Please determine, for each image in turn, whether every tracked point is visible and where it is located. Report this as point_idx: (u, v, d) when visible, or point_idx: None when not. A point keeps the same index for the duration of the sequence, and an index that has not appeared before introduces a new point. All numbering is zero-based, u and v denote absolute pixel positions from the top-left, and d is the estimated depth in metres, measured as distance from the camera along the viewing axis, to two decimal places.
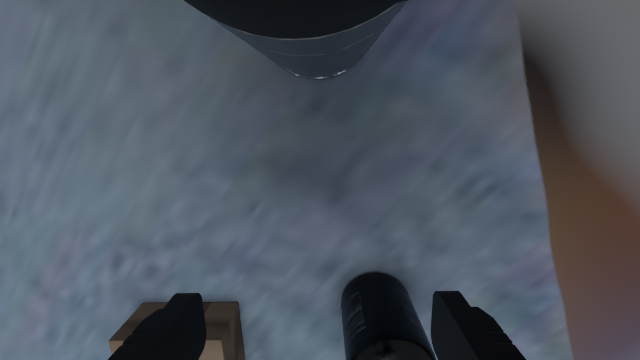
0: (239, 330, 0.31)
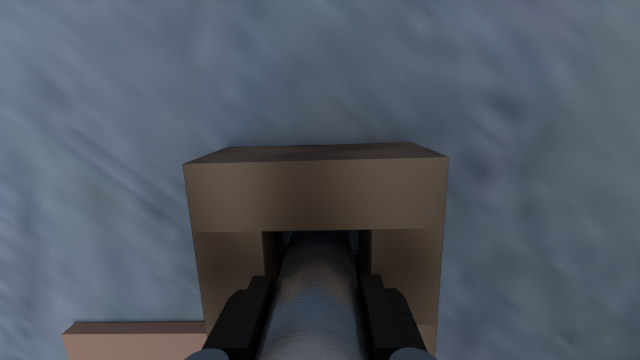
0: None
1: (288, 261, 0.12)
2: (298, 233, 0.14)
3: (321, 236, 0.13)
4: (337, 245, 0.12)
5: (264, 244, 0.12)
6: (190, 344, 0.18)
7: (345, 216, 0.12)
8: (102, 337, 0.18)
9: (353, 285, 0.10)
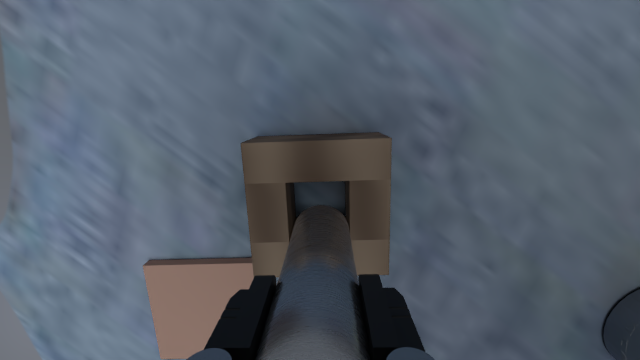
0: None
1: (289, 261, 0.12)
2: (299, 233, 0.14)
3: (321, 236, 0.13)
4: (337, 245, 0.12)
5: (286, 191, 0.21)
6: (231, 271, 0.26)
7: (334, 173, 0.20)
8: (170, 267, 0.26)
9: (354, 285, 0.10)
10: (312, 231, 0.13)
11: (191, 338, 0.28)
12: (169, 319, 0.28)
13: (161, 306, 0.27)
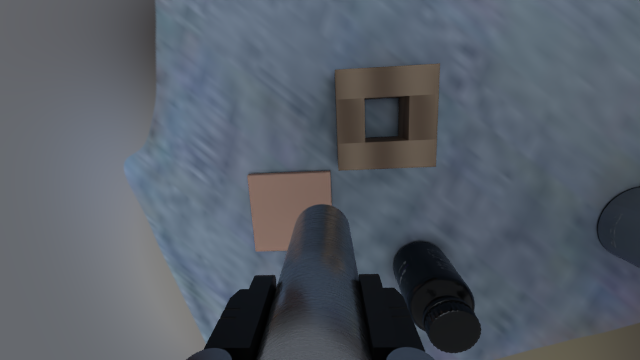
0: None
1: (289, 260, 0.11)
2: (299, 232, 0.14)
3: (322, 235, 0.13)
4: (338, 244, 0.12)
5: None
6: (312, 179, 0.36)
7: (399, 90, 0.29)
8: (267, 177, 0.36)
9: (355, 284, 0.10)
10: (313, 230, 0.13)
11: (279, 234, 0.37)
12: (264, 218, 0.37)
13: (258, 208, 0.37)
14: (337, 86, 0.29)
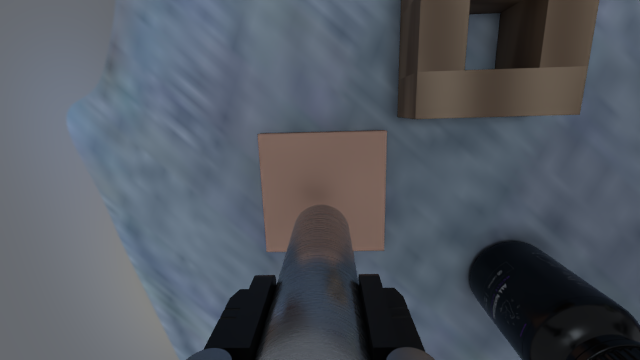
0: None
1: (289, 260, 0.11)
2: (298, 233, 0.14)
3: (321, 236, 0.13)
4: (337, 245, 0.12)
5: None
6: (359, 142, 0.23)
7: None
8: (289, 137, 0.23)
9: (354, 285, 0.10)
10: (312, 231, 0.13)
11: None
12: (281, 202, 0.24)
13: (273, 185, 0.24)
14: None
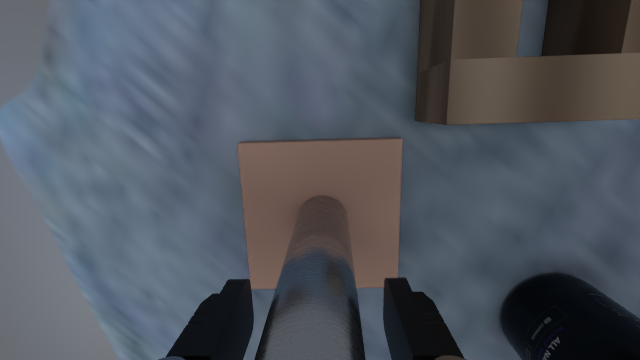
0: None
1: (293, 243, 0.13)
2: (302, 220, 0.16)
3: (322, 223, 0.14)
4: (336, 231, 0.14)
5: None
6: (367, 153, 0.18)
7: None
8: (277, 146, 0.18)
9: (348, 263, 0.12)
10: (314, 218, 0.15)
11: None
12: (268, 228, 0.19)
13: (258, 208, 0.19)
14: None
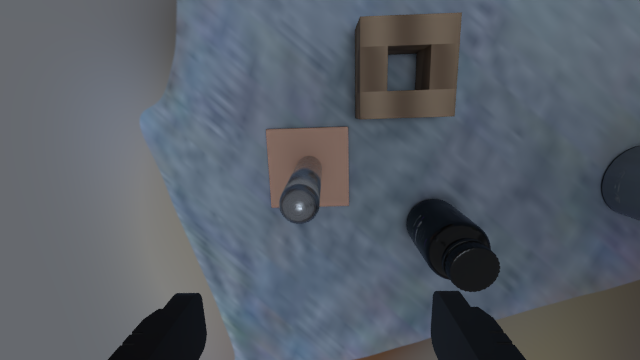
0: None
1: (295, 168, 0.31)
2: (299, 163, 0.34)
3: (307, 162, 0.33)
4: (313, 164, 0.32)
5: None
6: (330, 134, 0.36)
7: (421, 38, 0.30)
8: (286, 131, 0.36)
9: (318, 172, 0.30)
10: (304, 161, 0.33)
11: None
12: (281, 174, 0.37)
13: (276, 163, 0.37)
14: (361, 33, 0.30)
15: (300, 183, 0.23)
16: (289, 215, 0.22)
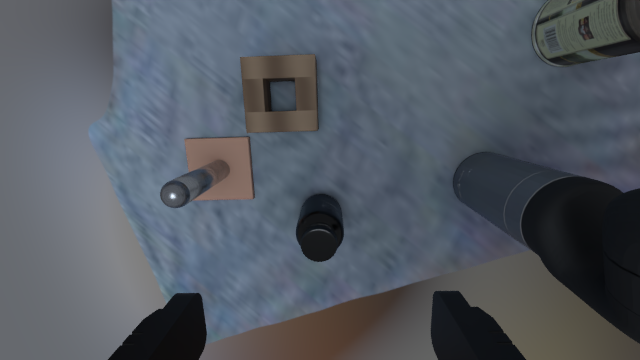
0: None
1: None
2: None
3: (209, 164, 0.43)
4: (213, 166, 0.42)
5: (263, 84, 0.41)
6: (235, 142, 0.46)
7: (287, 73, 0.40)
8: (200, 140, 0.46)
9: (210, 172, 0.40)
10: (208, 164, 0.43)
11: None
12: None
13: (194, 165, 0.47)
14: (242, 69, 0.40)
15: (176, 180, 0.33)
16: (164, 201, 0.33)
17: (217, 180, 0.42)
